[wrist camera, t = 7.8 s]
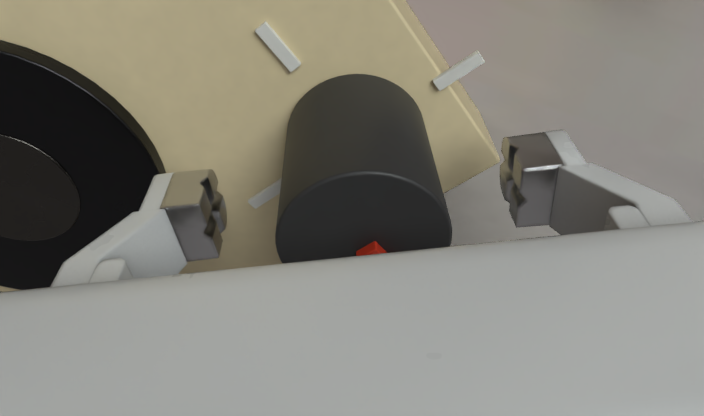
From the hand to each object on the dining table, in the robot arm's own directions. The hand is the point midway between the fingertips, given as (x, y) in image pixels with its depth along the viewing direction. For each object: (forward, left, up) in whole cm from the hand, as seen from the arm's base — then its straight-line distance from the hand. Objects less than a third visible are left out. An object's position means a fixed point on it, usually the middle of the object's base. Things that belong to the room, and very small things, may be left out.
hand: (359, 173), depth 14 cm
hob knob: (0, 0, -2) cm, 2 cm away
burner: (+9, -5, -2) cm, 10 cm away
